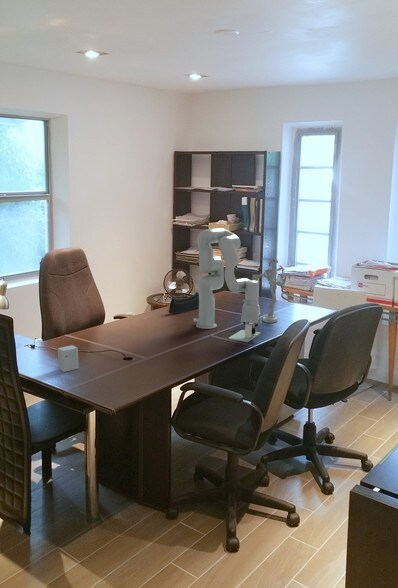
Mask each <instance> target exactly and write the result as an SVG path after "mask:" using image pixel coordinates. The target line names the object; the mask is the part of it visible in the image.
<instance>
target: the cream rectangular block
mask: <svg viewBox="0 0 398 588" xmlns="http://www.w3.org/2000/svg"><path fill="white" fill-rule="evenodd" d="M252 328H253V323H249V324H247V325H244V330H245V337H246V338H250V337H252V336H253V335H255V334H256V332H257V331H256V332H255V334H253V335H252Z"/></svg>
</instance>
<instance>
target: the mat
mask: <svg viewBox="0 0 398 588" xmlns="http://www.w3.org/2000/svg"><path fill="white" fill-rule="evenodd" d="M261 334H262V332H260V331H256V334H255V335H253V336H252V337H250V338H246V337H245V329H241V330H239V331H238V332H235V333H234V334H232V335H230V336H229V337H228V338H227V339H228V340H231V341H236V342H237V341H238V342H243V343H244V342H245V343H249V342H251V341H252V340H254V339H255V338H256V337H258V336H260V335H261Z"/></svg>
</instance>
